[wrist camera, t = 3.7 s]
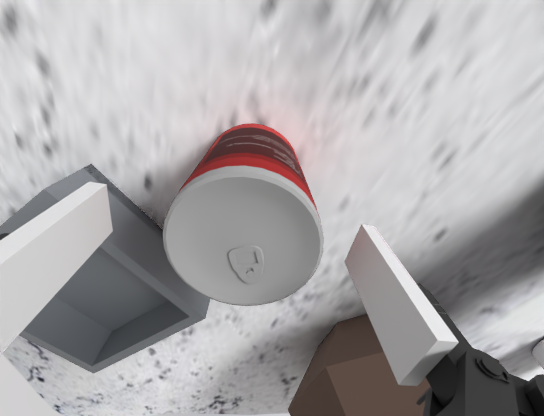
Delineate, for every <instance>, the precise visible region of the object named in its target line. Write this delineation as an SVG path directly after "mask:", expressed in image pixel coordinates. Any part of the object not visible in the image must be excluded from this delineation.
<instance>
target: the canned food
mask: <svg viewBox="0 0 544 416" xmlns="http://www.w3.org/2000/svg"><path fill="white" fill-rule="evenodd" d="M323 240H324V239H323V233H322V227H321V221H320V217H319V215H318V212H317V208H316V205H315V203H314V200H313V198H312V195H311V193H310V190H309V187H308V185H307V182H306V180H305V177H304V174H303V172H302V169H301V167H300V164H299V162H298V159H297V157H296V154H295V152H294V149H293V148H292V146H291V145H290V143H289V142H288V141H287V140H286V139H285V138H284V137H283V136H282V135H281V134H280V133H278V132H277V131H275V130H274V129H272V128H269V127H267V126H264V125H259V124H242V125H238V126H235V127H233V128H231V129H229V130H227V131H225V132H224V133H223V134H222V135H221V136H219V137H218V139H217V140H216V141H215V143H214V144H213V145H212V147H211V148H210V149H209V151H208V152H207V154H206V155H205V156H204V158H203V159H202V160H201V162H200V163H199V164H198V166H197V167H196V169H195V170H194V171H193V173H192V174H191V175H190V177H189V178H188V180H187V181H186V182H185V184H184V185H183V186H182V188H181V189H180V191H179V193H178V194H177V196H176V197H175V198H174V200H173V202H172V204H171V206H170V209H169V211H168V214H167V216H166V218H165V221H164V228H163V243H164V249H165V252H166V255H167V258H168V261H169V262H170V264H171V266H172V267H173V269H174V270H175V272H176V273H177V274H178V275H179V277H180V278H181V279H182V280H183V281H184V282H185V283H186V284H188V285H189V286H190V287H191V288H193V289H194V290H195V291H197V292H199V293H201V294H202V295H204V296H206V297H208V298H211V299H214V300H216V301H219V302H223V303H227V304H232V305H242V306H252V305H262V304H267V303H272V302H275V301H278V300H281V299H283V298H286V297H287V296H289V295H291V294H293V293H295V292H296V291H297V290H299V289H300V288H301V287H302V286H304V285H305V284H306V283H307V282H308V280H309V279H310V278H311V277H312V276H313V274H314V273H315V271H316V269H317V267H318V265H319V263H320V260H321V256H322V253H323Z"/></svg>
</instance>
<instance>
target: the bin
mask: <svg viewBox="0 0 544 416" xmlns="http://www.w3.org/2000/svg"><path fill="white" fill-rule="evenodd" d="M88 182H95V183H101V184H107V192H108V199H109V206H110V214H111V221H112V229H113V231H112V233H111V234H110V235H109V236H108V237H107V238H106V239H105V240H104V241H103V243H102V244H101V245H100V246H99V247H98V248H97V249H96V250H95V251H94V252H93V254H92V255H91V256H90V257H89V258H88V259H87V260H86V261H85V262H84V263H83V265H82V266H81V267H80V268H79V269H78V270H77V271H76V272H75V273H74V275H73V276H72V277H71V278H70V279H69V280H68V281H67V282H66V283H65V284H64V286H63V287H62V288H61V289H60V290H59V291H58V292H57V293H56V294H55V296H54V297H53V298H52V299H51V300H50V301H49V302H48V303H47V304H46V305H45V307H44V308H43V309H42V310H41V311H40V312H39V313H38V314H37V315H36V316H35V318H34V319H33V320H32V321H31V322H30V323H29V324H28V325H27V326H26V328H25V329H24V330H23V331H22V332H21V333H20V334H19V335H20V336H22V337H23V338H25V339H27V340H29V341H31V342H33V343H35V344H37V345H39V346H41V347H43V348H45V349H47V350H49V351H51V352H53V353H55V354H57V355H59V356H61V357H63V358H65V359H67V360H68V361H70V362H72V363H74V364H76V365H78V366H80V367H82V368H84V369H86V370H88V371H90V372H92V373H96V372H98V371H100V370H102V369H104V368H106V367H108V366H110V365H112V364H114V363H116V362H118V361H120V360H122V359H124V358H126V357H128V356H130V355H132V354H134V353H136V352H138V351H140V350H142V349H144V348H146V347H148V346H150V345H152V344H154V343H156V342H158V341H160V340H162V339H164V338H166V337H168V336H171V335H173V334H175V333H177V332H179V331H181V330H183V329H185V328H187V327H189V326H191V325H193V324H195V323H197V322H199V321H201V320H203V319H205V318H206V314H207V310H208V305H209V301H210V298H208V297H206V296H204V295H202V294H201V293H199V292H197V291H195V290H194V289H193V288H191V287H190V286H189V285H188V284H186V283H185V282H184V281H183V280H182V279H181V278H180V277H179V275H178V274H177V273H176V272H175V270H174V269H173V267H172V266H171V264H170V262H169V261H168V258H167V255H166V252H165V249H164V243H163V230H162V229H161V228H160V227H159V226H158V225H156V224H155V223H154V222H153V221H152V220H151V219H150V218H149V217H148V216H147V215H146V214H145V213H143V212H142V211H141V210H140V209H139V208H138V207H137V206H136V205H135V204H134V203H133V202H132V201H131V200H129V199H128V198H127V197H126V196H125V195H124V194H123V193H122V192H121V191H120V190H119V189H118V188H116V187H115V186H114V185H113V184H112V183H111V182H110V181H109V180H108V179H107V178H106V177H105V176H104V175H102V174H101V173H100V172H99V171H98V170H97V169H96V168H95V167H94V166H93V165H92V164H90V165H88V166H87V167H85V168H83V169H81V170H79V171H77V172H75V173H73V174H72V175H70V176H68V177H66V178H64V179H62V180H60V181H58V182H57V183H55V184H53V185H51V186H49V187H47V188H45V189H44V190H43V191H41V192H40V193H39V194H38V195H37V196H35V197H34V198H33V199H32V200H31V201H30V202H28V203H27V204H26V205H25V206H24V207H23V208H21V209H20V210H19V211H18V212H17V213H15V214H14V215H13V216H12V217H11V218H10V219H8V220H7V221H6V222H5V223H4V224H3V225H1V226H0V234H3V233H10V234H11V233H12V232H14V231H15V230H17V229H18V228H20V227H21V226H23V225H24V224H26V223H27V222H29V221H30V220H32V219H33V218H35V217H36V216H38V215H40V214H41V213H43V212H44V211H46V210H47V209H49V208H50V207H52V206H53V205H55V204H56V203H58V202H59V201H61V200H62V199H64V198H65V197H67V196H68V195H70V194H71V193H73V192H74V191H76V190H77V189H79V188H80V187H82V186H83V185H85V184H86V183H88Z"/></svg>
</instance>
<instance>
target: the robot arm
mask: <svg viewBox="0 0 544 416" xmlns="http://www.w3.org/2000/svg"><path fill="white" fill-rule="evenodd" d="M112 231H113V229H112V221H111V214H110V206H109V199H108V192H107V184H101V183H95V182H88V183H86V184H85V185H83V186H82V187H80V188H79V189H77V190H76V191H74V192H73V193H71V194H70V195H68V196H67V197H65V198H64V199H62V200H61V201H59V202H58V203H56V204H55V205H53V206H52V207H50V208H49V209H47V210H46V211H44V212H43V213H41V214H40V215H38V216H36V217H35V218H33V219H32V220H30V221H29V222H27V223H26V224H24V225H23V226H21V227H20V228H18V229H17V230H15V231H14V232H12V233H11V234H10V233H3V234H0V355H1V354H2V353H3V352H4V351H5V350H6V348H7V347H8V346H9V345H10V344H11V343H12V342H13V341H14V340H15V339H16V337H17V336H18V335H19V334H20V333H21V332H22V331H23V330H24V329H25V328H26V326H27V325H28V324H29V323H30V322H31V321H32V320H33V319H34V318H35V316H36V315H37V314H38V313H39V312H40V311H41V310H42V309H43V308H44V307H45V305H46V304H47V303H48V302H49V301H50V300H51V299H52V298H53V297H54V296H55V294H56V293H57V292H58V291H59V290H60V289H61V288H62V287H63V286H64V284H65V283H66V282H67V281H68V280H69V279H70V278H71V277H72V276H73V275H74V273H75V272H76V271H77V270H78V269H79V268H80V267H81V266H82V265H83V263H84V262H85V261H86V260H87V259H88V258H89V257H90V256H91V255H92V254H93V252H94V251H95V250H96V249H97V248H98V247H99V246H100V245H101V244H102V243H103V241H104V240H105V239H106V238H107V237H108V236H109V235H110V234H111V233H112ZM345 264H346V266H347V269H348V271H349V273H350V275H351V278H352V280H353V282H354V284H355V287H356V289H357V291H358V294H359V296H360V298H361V300H362V303H363V305H364V307H365V310H366V312H367V314H368V316H369V319H370V321H371V323H372V326H373V328H374V330H375V332H376V335H377V337H378V339H379V342H380V344H381V346H382V348H383V351H384V353H385V355H386V358H387V360H388V362H389V364H390V367H391V369H392V371H393V374H394V376H395V378H396V380H397V383H398V385H407V386H418V385H419V384H420V383H421V382H422V381H423V380H424V378H425V377H426V379H427V381H428V382H429V384H430V386H431V387H430V388H429V389H428V390H427V391H426V392H425V393H424V394H423V395H422V396H421V397H420V398H419V399H418V401H417V403H416V404H418V405H421V404H422V403H423V402H424V401H425V406H424V412H423V416H544V375H543V374H542V375H536V376H535V377H534V378H532V379H531V380H530V381H526V380H524V379H521V378H519V377H516V376H513V375H511V374H508V372H507V371H506V370H505V368H504V367H503V366H502V365H501V364H500V363H499V362H498V361H496V360H495V359H494V358H492V357H491V356H490V355H488V354H486V353H484V352H482V351H480V350H477V349H473V348H472V347H471V345H470V344H469V343H468V342H467V340H466V339H465V338H464V336H463V335H462V334H461V332H460V331H459V330H458V328H457V327H456V326H455V324H454V323H453V322H452V321H451V319H450V318H449V317H448V315H447V314H445V311H444V310H443V309H442V307H441V306H439V305H438V304H439V303H438V302H437V301H436V299H435V298H434V297H433V296H432V294H431V293H430V292H429V291H428V290H426V289H425V288H424V287H423V286H422V285H421V284H418V283H415V281H414V280H413V278H412V277H411V276H410V274H409V273H408V272H407V270H406V269H405V267H404V266H403V265H402V263H401V262H400V261H399V259H398V258H397V256H396V255H395V254H394V252H393V251H392V250H391V248H390V247H389V245H388V244H387V243H386V241H385V240H384V239H383V237H382V236H381V234H380V233H379V232H378V230H377V229H376V228H375V226H370V225H364V224H362V225H361V227H360V229H359V231H358V233H357V235H356V238H355V240H354V242H353V244H352V246H351V249H350V251H349V253H348V255H347V257H346V260H345Z"/></svg>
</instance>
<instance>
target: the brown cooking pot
mask: <svg viewBox="0 0 544 416" xmlns="http://www.w3.org/2000/svg"><path fill="white" fill-rule="evenodd" d="M473 349H474V348H473ZM495 360H496V361H498V362H499V360H497V359H495ZM430 387H431V386H430V384H429V382H428V381H427V379H426V377H425V378H424V380H423V381H422V382H421V383H420V384H419V385H418V386H407V385H398V383H397V380H396V378H395V376H394V374H393V371H392V369H391V367H390V364H389V362H388V360H387V358H386V355H385V353H384V351H383V348H382V346H381V344H380V342H379V339H378V337H377V335H376V332H375V330H374V328H373V326H372V323H371V321H370V319H369V316H368V314H366V315H362V316H359V317H355V318H352V319H348V320H345V321H341V322H338V323H337V324H336V325H335V327H334V328H333V329H332V330H331V332H330V333H329V334H328V335H327V337H326V338H325V339H324V340H323V342H322V343H321V344H320V345H319V347H318V349H317V351H316V353H315V355H314V357H313V359H312V361H311V363H310V365H309V367H308V369H307V371H306V373H305V375H304V377H303V379H302V382H301V384H300V386H299V388H298V390H297V392H296V394H295V396H294V398H293V400H292V402H291V404H290V406H289V408H288V411H289V413H290V415H291V416H423V412H424V406H425V401H424V402H423V403H422V404H421V405H418V404H416V403H417V401H418V399H419V398H420V397H421V396H422V395H423V394H424V393H425V392H426V391H427V390H428V389H429V388H430Z"/></svg>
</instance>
